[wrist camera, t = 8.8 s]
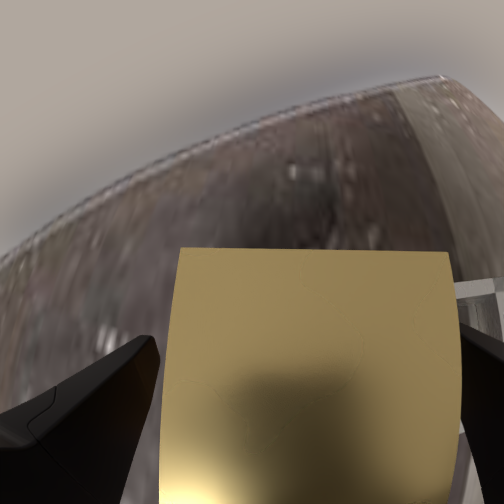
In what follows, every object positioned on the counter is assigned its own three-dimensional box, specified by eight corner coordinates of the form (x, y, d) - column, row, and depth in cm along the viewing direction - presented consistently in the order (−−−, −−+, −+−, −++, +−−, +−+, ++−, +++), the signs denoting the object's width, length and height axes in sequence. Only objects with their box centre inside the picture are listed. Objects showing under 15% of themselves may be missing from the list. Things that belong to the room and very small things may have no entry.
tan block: (328, 346, 16) (447, 252, 4) (326, 421, 14) (445, 508, 2) (251, 345, 16) (181, 246, 5) (246, 420, 14) (160, 519, 3)
